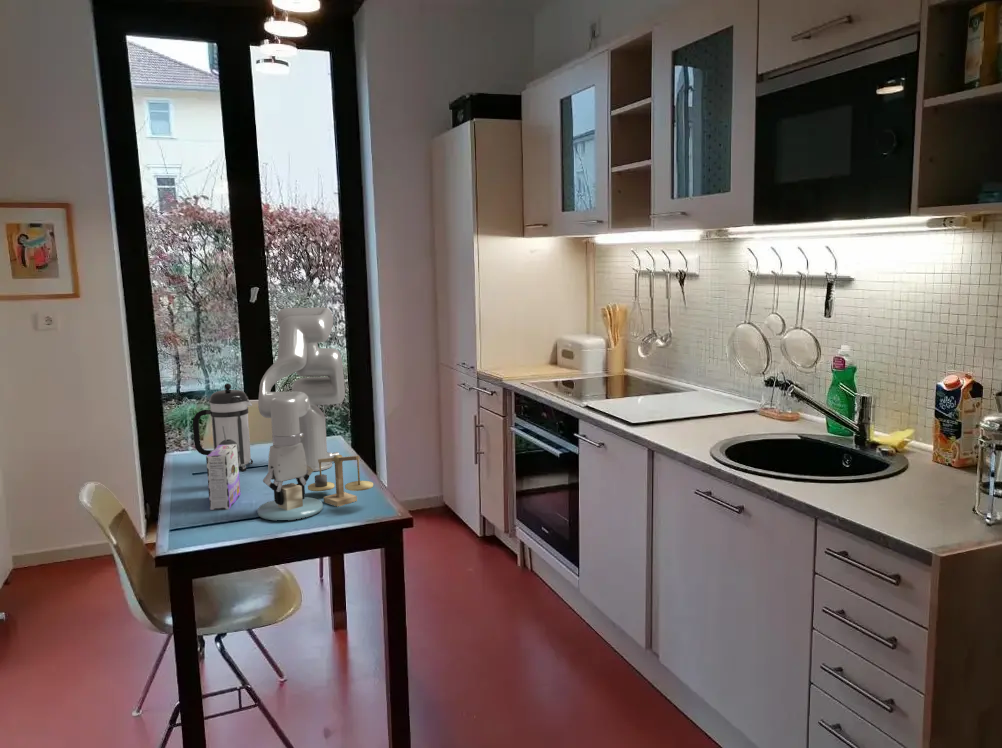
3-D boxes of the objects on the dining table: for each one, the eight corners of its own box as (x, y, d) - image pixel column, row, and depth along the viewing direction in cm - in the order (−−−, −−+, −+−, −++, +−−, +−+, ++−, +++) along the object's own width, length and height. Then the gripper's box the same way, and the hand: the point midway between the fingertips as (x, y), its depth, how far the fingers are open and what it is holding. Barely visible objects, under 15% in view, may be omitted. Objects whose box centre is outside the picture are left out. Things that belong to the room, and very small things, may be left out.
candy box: (221, 496, 240) (218, 444, 238) (241, 495, 241) (237, 443, 238) (209, 510, 226) (204, 455, 224) (229, 509, 227) (225, 454, 224)
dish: (300, 498, 236) (300, 493, 236) (335, 510, 224) (335, 505, 224) (246, 513, 223) (245, 507, 223) (279, 527, 211) (279, 521, 211)
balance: (325, 489, 245) (322, 441, 242) (379, 507, 226) (377, 455, 223) (303, 495, 239) (300, 446, 236) (357, 514, 220) (354, 461, 218)
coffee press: (242, 459, 284) (236, 378, 280) (263, 467, 273) (257, 383, 268) (195, 469, 272) (188, 384, 268) (215, 477, 261) (209, 389, 256)
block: (293, 502, 227) (292, 482, 226) (302, 506, 223) (301, 486, 223) (278, 506, 223) (276, 486, 222) (287, 510, 220) (286, 490, 219)
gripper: (305, 432, 229) (308, 491, 232) (251, 443, 217) (255, 505, 219) (320, 436, 224) (323, 496, 227) (265, 447, 212) (269, 511, 214)
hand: (290, 500), depth 223 cm, fingers open, 6 cm apart
